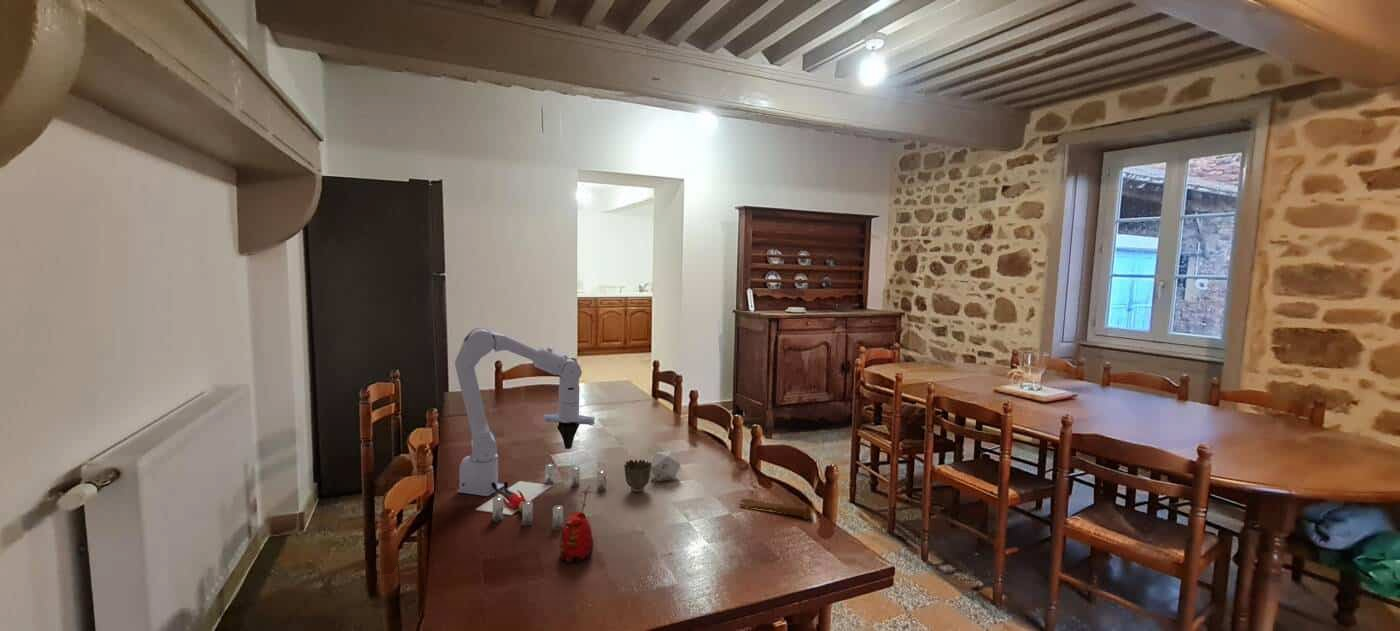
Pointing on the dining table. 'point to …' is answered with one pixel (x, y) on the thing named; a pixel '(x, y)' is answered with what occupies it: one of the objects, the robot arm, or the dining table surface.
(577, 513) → the red clay folk toy
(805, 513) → the primitive tool
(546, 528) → the dining table surface
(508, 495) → the person figure
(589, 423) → the robot arm
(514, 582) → the dining table surface
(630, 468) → the cup
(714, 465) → the dining table surface
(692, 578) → the dining table surface
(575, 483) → the spacer field
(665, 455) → the die
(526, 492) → the mat
